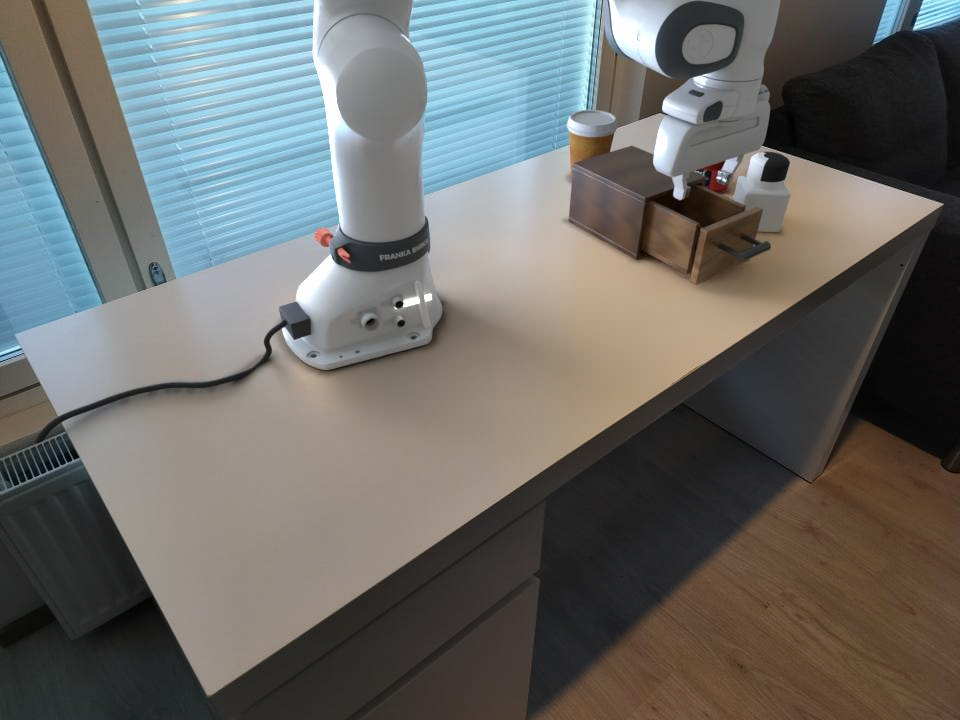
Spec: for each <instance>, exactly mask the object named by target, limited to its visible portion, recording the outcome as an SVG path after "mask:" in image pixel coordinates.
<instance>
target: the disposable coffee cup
mask: <svg viewBox="0 0 960 720" xmlns="http://www.w3.org/2000/svg"><path fill="white" fill-rule="evenodd" d="M566 127H567V130H568V140H569V156H570V157H569V161H570V162H569V163H570V179H571V180H572V172H573V163H576V162H579V161H582V160H585V159H589V158H592V157H595V156H599V155H602V154H605V153H609V152H611V150H612V145H613V141H614V137H615V133H616V131H617V129H618V128H619V124H618V122H617V116H616V115H615V114H613V113H611V112H608V111H605V110H598V109H583V110H577V111H574V112H572V113H571V114H570V115H569V118H568V120H567V121H566Z"/></svg>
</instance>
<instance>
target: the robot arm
mask: <svg viewBox="0 0 960 720" xmlns="http://www.w3.org/2000/svg"><path fill="white" fill-rule="evenodd" d="M603 1H604V2H603V3H604V4H603V5H604V6H603V7H604V9H603V10H604V11H603V12H604V13H603V14H604V15H603V16H604V17H603V21H604V22H603V23H604V32H605V38H606V40H607V42H608V45H609V46H610V48H611V49H612V50H613V51H614V52H615V53H616V54H617V55H619V56H620V57H623V58H625V59H627V60H631V61H634V62H637V63H639V64H641V65H643V66H644V67H646V68H648V69H650V70H652V71H655V72H657V73H659V74H660V75H663V76H665V77H667V78H669V79H675V80H686V81H685V82H684V83H683V84H681V85H680V87H678V88H677V89H675V90H673V91H672V92H670V93H669V94H668V95H667V96H665V97H664V99H663V100H662V101H663V102H662V107H661V111H662V112H663V113H664V114H666V115H665V116H664V117H663V119H662V121H661V122H660V124H659V127H658V131H657V134H656V140H655V144H654V151H653V154H654V158H653V164H654V166H655V169H656V170H657V171H658V172H660V173H662V174H665V175H667V176H669V177H672V180H673V183H674V185H675V187H674V193H673V196H674V198H676V199H678V200H683V199H686V198H688V197H689V195H690V194H689V193H690V190H691V187H689V186H687V183H686V179H687V178H689V174H690V172H692V171H695V170H698V169H701V168H704V167H707V166H710V165H713V164H716V163H719V162H722V161H726V162H725V164H724V166H723V168H722V170H720V171H718V175H717V176H718V177H717V179H716V181H717V183H719V184H722V185H725V184H728V185H729V184H731V183H733V178H734V174H735V172H736V171H737V170H738V168H739V167H740V165H741V163H742V162H743V159H744V155H747V154H750V153H753V152H756V151H759V150H760V149H761V148H762V146H763V145H764V143H765V142H766V141H765V140H766V137H767V134H768V133H767V132H768V127H769V121H770V116H771V115H770V114H771V105H770V102H769V100H770V97H771V92H770V91H769V88H768V87H767V86H766V85H765V84H762V82H763V77H764V72H765V65H764V64H765V63H764V62H765V57H766V53H767V51H768V49H769V47H770V45H771V43H772V41H773V38H774V34H775V29H776V26H777V21H778V17H779V11H780V7H781V6H780V5H781V0H603ZM414 2H415V0H314V1H313V24H312V60H313V63H314V67H315V70H316V72H317V75H318V80H319V83H320V88H321V90H322V91H321V92H322V95H323V101H324V107H325V115H326V123H327V130H328V138H329V148H330V159H331V172H332V178H333V179H332V180H333V185H334V191H335V192H334V193H335V198H336V199H335V200H336V204H337V212H338V219H339V222H338V225H337V228H336V230H335V233H334V234H333V233H332V232H330V231H329V230H328V229H327V228H325V227H320V228H318V229H317V230H315V233H314V239H315V241H316V242H317V243H319V244H320V245H321V246H322V247H324V248H328V247H329V252H330V253H329V255H327V257H326V258H325V259H324V260H323V261H322V262H321V263H320V264H319V265H318V266H317V267H316V269H315V270H314V271H313V272H311V273H310V275H309V276H307V277H306V279H305V280H304V281H302V283H300V285H299V286H298V288H297V291H296V294H295V301H293V302H290V303H287V304H283V305H280V306H278V311H279V316H280V320H281V321H280V322H279V323H278V324H276V325H274V326H273V327H272V328H271V329H270V330H268V331H267V333H266V334H265V336H264V338H263V345H264V348H265V352H264V354H263V355H262V357H261V358H260V359H259V361H258V362H256V363H255V364H254V365H252V366H251V367H249V368H247V369H245V370H242V371H240V372H237V373H234V374H230V375H226V376H223V377H220V378H217V379H212V380H206V381H169V382H160V383H155V384H150V385H145V386H140V387H137V388H132V389H129V390H125V391H122V392H119V393H116V394H113V395H110V396H107V397H105V398H102V399H100V400H97V401H94V402H92V403H89V404H87V405H83V406H80V407H78V408H74V409H72V410H70V411H67V412H64V413H62V414H61V415H59V416H57V417H55V418H53V419H52V420H51V421H49V422H48V423H47V424H45V426H43V428H42V429H41V430H40V432H39V433H38V435H37V436H36V438H35V440H34V444H40V443H42V442H43V441H44V440H45V439H46V437H47V436H48V435H49V434H50V433H51V431H53V429H55V428H56V427H58V426H59V425H60V424H61V423H63V422H65V421H67V420H70V419H72V418H74V417H76V416H79V415H82V414H85V413H88V412H91V411H94V410H96V409H98V408H102V407H104V406H107V405H109V404H112V403H114V402H117V401H119V400H123V399H126V398H130V397H134V396H137V395H141V394H146V393H151V392H155V391H160V390H167V389H206V388H213V387H217V386H220V385H224V384H227V383H231V382H234V381H237V380H241V379H242V378H245V377H247V376H249V375H250V374H251V373H252V372H254V371H255V370H256V369H258V368H260V367H261V366H263V364H265V363H266V362H268V360H269V359H270V357H271V355H272V354H273V346H272V345H271V339H272V338H273V336H274V335H275V334H277V333H278V332H279V331H281V330H282V336H283V339H284V341H285V343H286V345H287V346H288V348H289V349H290V350H291V352H292V353H293V354H294V355H295V356H296V357H297V358H298V359H299V360H300V361H302V362H304V363H305V364H306V365H309V366H310V367H313V368H315V369H318V370H322V371H329V370H335V369H338V368H342V367H345V366H350V365H354V364H357V363H361V362H365V361H368V360H372V359H373V360H374V359H376V358H380V357H384V356H388V355H391V354H395V353H399V352H403V351H406V350H411V349H414V348H418V347H422V346H426V345H428V344H430V343H431V341H432V340H433V333H434V332H433V330H434V328H435V327H436V326H437V324H438V323H439V322H440V320H441V318H442V315H443V305H442V303H441V300H440V297H439V294H438V292H437V289H436V285H435V281H434V278H433V273H432V267H431V261H430V256H429V254H430V252H431V233H430V223H429V219H428V217H427V216H426V210H425V194H424V192H425V191H424V178H423V177H424V175H423V151H424V141H425V130H426V108H427V102H428V81H427V74H426V70H425V65H424V62H423V60H422V58H421V55H420V54H419V52H418V50H417V49H416V47H415V46H414V45H413V44H412V43H411V39H410V25H411V19H412V14H413V8H414Z"/></svg>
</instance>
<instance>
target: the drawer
mask: <svg viewBox="0 0 960 720" xmlns="http://www.w3.org/2000/svg"><path fill="white" fill-rule="evenodd" d="M690 187H691V190H690V193H689V194H690V195H689V197H688V198H686V199H683V200H678V199H676V198H674V196H673V193H674V192H673V193H671V194H668V195H665V196H662V197H659V198H657V199H654V200H651V201H648V207H647V213H646V220H645V226H644V232H643V239H642V245H641V250H643V251H645V252H646V253H648V254H649V255H650V256H651V257H653V258H656V259H657V260H659V261H661V262H662V263H664V264H666V265H668V266H670V267H672V268H673V269H674V270H675V269H676V270H677V271H679V272H680V273H682V274H684V275H689V274H690V279H689V282H690V284H691V283H692V284H694V285H696V286H697V285H699V284H701V283H703V282H706V281H707V280H710V279H712V278H714V277H717V276H719V275H721V274H724V273H726V272H728V271H730V270H732V269H734V268H736V267H738V266H741V265H743V264H745V263H747V262H750V260H751V259H753V258H755V257H757V256H759V255H761V254H765V253H766V252H768V251H770V250H771V249H772V245H771V243H770V242H769V241H768V240H765V241H763V242H762V241H760V240H758V239H756V238H757V234H758V232H757V231H758V227H759V223H760V220H761V216H762V212H763V209H762V208H759V207H754V208H752V209H749V210H747V211H745V208H746V205H744V204H741V203H739V202H737V201H735V200H733V198H730V197H729V196H726V195H723V194H721V193H716V192H714V191H712V190H709V189H707V188H705V187H702V186H700V185H698V184H696V185H693V186H690ZM700 226H701V227H703V228H702V229H699V227H700ZM698 234H700V236H699V241H698V245H697V249H696V250H695V246H696V241H697V237H698ZM694 251H695V254H694Z"/></svg>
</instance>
